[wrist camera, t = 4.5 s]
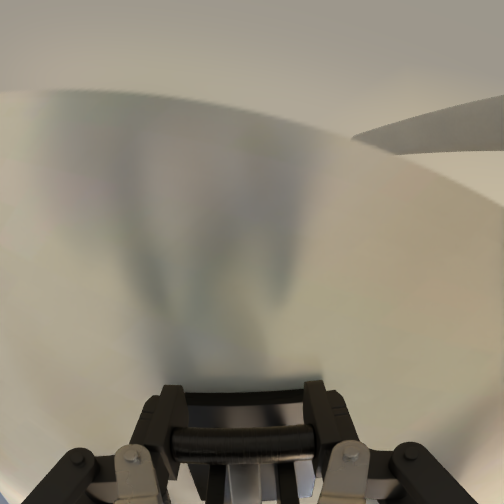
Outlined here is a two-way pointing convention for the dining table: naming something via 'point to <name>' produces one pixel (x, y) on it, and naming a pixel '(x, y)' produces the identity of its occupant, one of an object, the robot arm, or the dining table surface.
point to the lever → (244, 452)
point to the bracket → (248, 416)
